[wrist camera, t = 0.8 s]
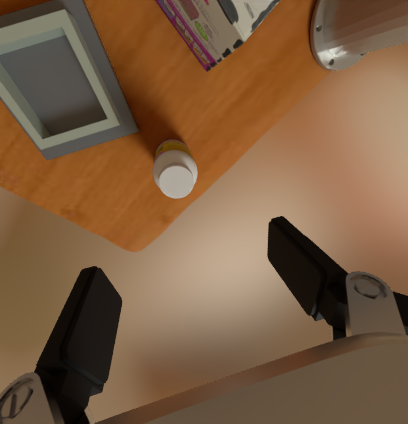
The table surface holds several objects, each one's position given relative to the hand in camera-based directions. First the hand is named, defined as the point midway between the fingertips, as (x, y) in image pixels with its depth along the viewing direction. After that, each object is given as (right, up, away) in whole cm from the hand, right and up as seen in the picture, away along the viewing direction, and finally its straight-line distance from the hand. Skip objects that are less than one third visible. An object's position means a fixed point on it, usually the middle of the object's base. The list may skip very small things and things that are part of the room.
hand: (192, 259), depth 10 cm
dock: (-20, +21, +17) cm, 33 cm away
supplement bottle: (-5, +13, +25) cm, 29 cm away
